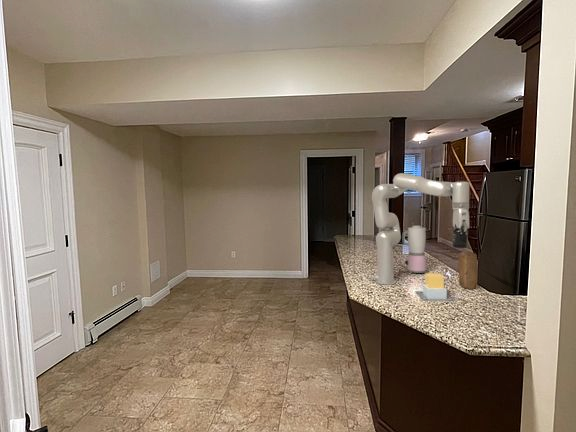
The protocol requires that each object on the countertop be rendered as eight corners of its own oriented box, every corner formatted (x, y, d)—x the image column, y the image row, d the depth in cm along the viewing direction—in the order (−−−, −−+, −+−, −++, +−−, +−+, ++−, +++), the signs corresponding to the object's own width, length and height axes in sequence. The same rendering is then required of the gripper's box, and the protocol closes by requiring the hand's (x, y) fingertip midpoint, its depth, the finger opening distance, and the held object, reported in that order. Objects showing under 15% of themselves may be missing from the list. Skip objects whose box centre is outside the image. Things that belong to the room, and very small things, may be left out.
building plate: (422, 302, 163) (422, 299, 163) (414, 293, 179) (414, 290, 179) (456, 303, 161) (456, 300, 161) (445, 293, 177) (445, 290, 176)
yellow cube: (429, 288, 166) (429, 276, 166) (425, 284, 173) (425, 273, 173) (443, 288, 166) (443, 276, 165) (439, 284, 172) (439, 273, 172)
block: (478, 289, 182) (478, 254, 181) (464, 289, 183) (464, 254, 182) (469, 284, 193) (470, 250, 192) (456, 284, 194) (456, 250, 193)
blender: (423, 270, 231) (424, 225, 229) (428, 274, 219) (428, 226, 217) (400, 270, 233) (400, 225, 231) (404, 274, 221) (404, 226, 219)
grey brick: (427, 298, 166) (427, 288, 166) (422, 293, 175) (422, 284, 175) (446, 299, 165) (446, 289, 164) (440, 293, 174) (440, 284, 173)
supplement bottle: (450, 246, 172) (450, 223, 171) (463, 246, 172) (463, 223, 171) (456, 248, 165) (456, 224, 164) (470, 248, 165) (470, 224, 164)
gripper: (475, 206, 158) (474, 243, 159) (461, 205, 175) (461, 238, 176) (459, 206, 159) (458, 243, 160) (446, 205, 176) (446, 238, 177)
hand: (459, 240), depth 168 cm, fingers closed on supplement bottle, 6 cm apart
